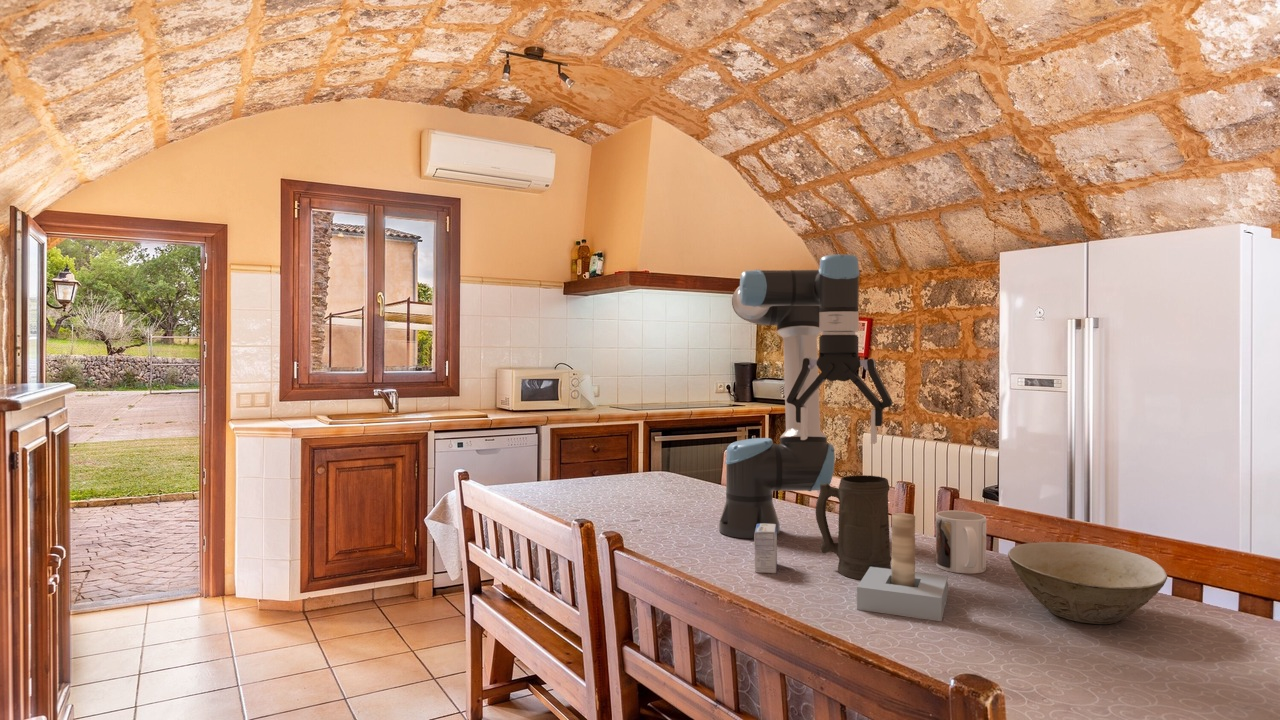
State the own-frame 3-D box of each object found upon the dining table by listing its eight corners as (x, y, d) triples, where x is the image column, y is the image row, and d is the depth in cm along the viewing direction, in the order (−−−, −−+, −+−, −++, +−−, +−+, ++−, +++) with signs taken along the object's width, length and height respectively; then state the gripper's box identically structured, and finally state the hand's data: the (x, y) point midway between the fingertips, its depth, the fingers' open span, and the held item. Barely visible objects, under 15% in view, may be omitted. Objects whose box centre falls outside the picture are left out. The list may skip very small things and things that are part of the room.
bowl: (1171, 652, 117) (1171, 586, 116) (999, 623, 129) (1000, 564, 129) (1163, 607, 137) (1163, 551, 136) (1015, 586, 149) (1016, 534, 149)
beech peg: (893, 598, 142) (893, 512, 142) (916, 601, 140) (916, 514, 140) (890, 605, 138) (890, 516, 138) (913, 608, 137) (913, 518, 136)
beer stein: (896, 568, 161) (889, 473, 161) (895, 582, 151) (888, 481, 151) (821, 566, 166) (815, 474, 166) (816, 580, 156) (809, 482, 156)
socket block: (870, 587, 149) (870, 566, 149) (947, 597, 143) (947, 575, 142) (856, 609, 136) (856, 586, 136) (941, 621, 130) (941, 597, 130)
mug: (996, 567, 162) (996, 515, 162) (975, 580, 153) (976, 524, 153) (946, 558, 169) (946, 508, 169) (924, 569, 160) (924, 517, 160)
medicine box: (776, 574, 158) (776, 532, 157) (754, 573, 158) (754, 531, 158) (777, 563, 165) (777, 523, 165) (756, 562, 166) (756, 522, 166)
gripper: (771, 334, 153) (771, 439, 154) (903, 333, 142) (902, 447, 143) (781, 334, 160) (781, 435, 161) (907, 333, 149) (906, 442, 150)
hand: (838, 441), depth 152 cm, fingers open, 13 cm apart
